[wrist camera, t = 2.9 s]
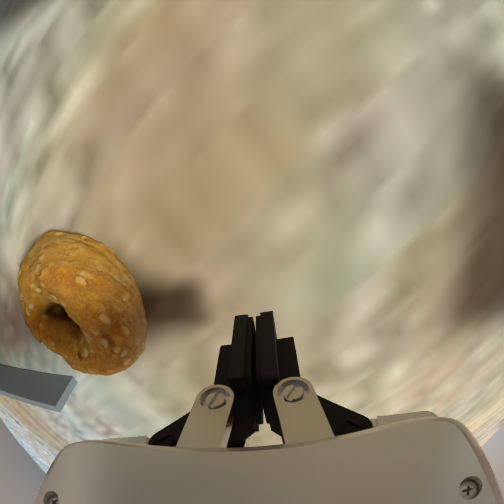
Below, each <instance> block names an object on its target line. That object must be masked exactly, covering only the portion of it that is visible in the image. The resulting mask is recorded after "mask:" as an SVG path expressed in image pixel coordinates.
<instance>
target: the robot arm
mask: <svg viewBox="0 0 504 504" xmlns="http://www.w3.org/2000/svg"><path fill="white" fill-rule="evenodd" d="M263 409H264V413H265V417H266V422H267V424H268V423H270V427H271V430H272V431H273V432H275V433H276V434H278V435H280V436H281V438H282V442H283V444H280V445H270V446H258V447H248V446H249V437H250V436H251V435H252V434H253V433H254V432H256V431H259V424H263ZM34 504H504V497H503V495H502V492H501V489H500V487H499V484H498V482H497V480H496V477H495V475H494V473H493V470H492V468H491V466H490V463H489V461H488V460H487V458H486V456H485V454H484V452H483V450H482V448H481V446H480V445H479V443H478V442H477V440H476V438H475V437H474V436H473V434H472V433H471V432H470V430H469V429H468V428H467V427H466V426H465V425H464V424H463V423H461V422H459V421H458V420H455V419H452V418H447V417H438V416H437V415H435V414H434V413H432V412H429V411H420V412H413V413H405V414H397V415H387V416H377V419H368V418H367V417H365V416H363V415H361V414H358V413H356V412H354V411H351V410H349V409H347V408H344V407H342V406H340V405H337V404H335V403H333V402H331V401H329V400H326V399H324V398H322V397H320V396H318V395H316V392H315V390H314V388H313V385H312V384H311V383H310V381H308V380H307V379H305V378H301V377H300V373H299V367H298V361H297V355H296V349H295V344H294V338H293V337H288V338H282V339H277V336H276V330H275V323H274V317H273V311H269V312H262V313H260V316H256V331H255V326H254V321H253V317H248V315H239V316H235V320H234V328H233V336H232V344H231V345H223V346H221V347H220V352H219V358H218V364H217V370H216V376H215V381H214V385H212V386H208V387H206V388H204V389H203V390H202V391H200V392H199V394H198V395H197V397H196V399H195V402H194V404H193V407H192V409H191V411H190V412H189V413H187V414H186V415H184V416H183V417H181V418H180V419H178V420H176V421H175V422H173V423H172V424H170V425H168V426H167V427H165V428H164V429H162V430H160V431H159V432H157V433H156V434H154V435H153V436H152V437H151V438H148V437H147V436H140V437H128V438H110V439H104V440H88V441H81V442H76V443H72V444H69V445H67V446H66V447H64V448H63V449H62V450H61V451H60V452H59V453H58V455H57V456H56V458H55V459H54V461H53V463H52V464H51V466H50V468H49V470H48V472H47V474H46V476H45V478H44V480H43V482H42V485H41V487H40V489H39V492H38V494H37V497H36V499H35V502H34Z"/></svg>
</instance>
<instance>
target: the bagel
mask: <svg viewBox="0 0 504 504" xmlns="http://www.w3.org/2000/svg"><path fill="white" fill-rule="evenodd" d="M17 280H18V286H19V291H20V300H21V306H22V314H23V316H24V319H25V322H26V325H27V326H28V328H29V329H30V331H31V333H32V334H33V336H34V337H35V338H36V340H38V341H39V342H42V341H43V343H44V344H45V345H46V346H47V348H48V349H51V350H52V351H53V352H54V353H57V354H59V355H61V356H62V357H63V358H64V359H65V361H66V362H67V363H68V364H69V365H70V366H71V368H73V369H75V370H78V371H80V372H83V373H88V374H95V375H97V374H99V375H112V374H115V373H118V372H121V371H124V370H126V369H127V368H129V367H130V366H131V365H133V364H134V363H135V362H136V360H137V359H138V358H139V356H140V355H141V354H142V352H143V351H144V350H145V340H146V335H147V330H148V322H147V319H146V316H145V309H144V306H143V301H142V297H141V293H140V291H139V288H138V287H137V284H136V282H135V280H134V278H133V277H132V276H131V274H130V272H129V271H128V269H127V268H126V267H125V266H124V264H123V263H122V262H121V261H120V260H119V259H118V258H117V256H116V255H115V253H114V252H113V251H112V250H111V249H110V248H108V247H106V246H105V245H104V244H101V243H99V242H97V241H95V240H94V239H92V238H90V237H87V236H82V235H80V234H69V233H66V232H60V231H50V232H47V233H46V234H44V235H43V236H42V237H41V238H40V239H39V240H38V241H36V243H35V244H34V246H33V247H32V249H31V250H30V251H29V252H28V253H27V255H26V256H25V258H24V259H23V260H22V262H21V264H20V269H19V272H18V276H17Z"/></svg>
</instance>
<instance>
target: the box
mask: <svg viewBox="0 0 504 504" xmlns="http://www.w3.org/2000/svg"><path fill="white" fill-rule="evenodd" d="M76 384H77V382H76V380H75V379H74V377H70V376H62V375H55V374H48V373H42V372H36V371H30V370H25V369H19V368H14V367H10V366H5V365H1V364H0V394H2V395H5V396H7V397H10V398H13V399H16V400H19V401H22V402H25V403H28V404H31V405H35V406H38V407H42V408H45V409H49V410H53V411H57V412H61V410H62V408H63V407H64V405H65V403H66V401H67V399H68V398H69V396H70V394H71V393H72V391H73V389H74V387H75V386H76Z"/></svg>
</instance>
